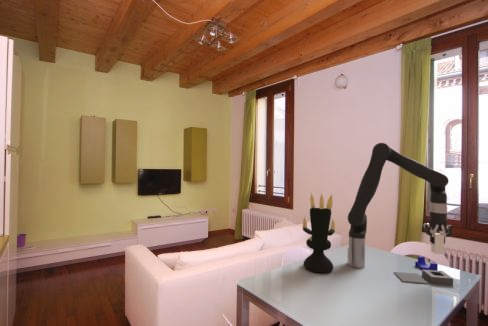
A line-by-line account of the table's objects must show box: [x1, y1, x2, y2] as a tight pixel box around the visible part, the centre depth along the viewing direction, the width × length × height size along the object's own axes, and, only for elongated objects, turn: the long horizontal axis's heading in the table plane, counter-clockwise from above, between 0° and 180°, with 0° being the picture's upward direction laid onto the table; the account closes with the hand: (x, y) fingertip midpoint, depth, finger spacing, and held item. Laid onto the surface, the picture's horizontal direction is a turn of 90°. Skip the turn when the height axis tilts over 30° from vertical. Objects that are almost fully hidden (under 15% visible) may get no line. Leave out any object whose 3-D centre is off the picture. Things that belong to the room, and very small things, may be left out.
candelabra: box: [302, 192, 336, 274], centre depth 154 cm, size 19×22×45 cm
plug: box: [430, 232, 445, 255], centre depth 142 cm, size 4×4×10 cm
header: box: [421, 269, 454, 286], centre depth 142 cm, size 10×10×4 cm
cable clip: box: [414, 255, 439, 271], centre depth 156 cm, size 12×4×6 cm, turn 2°
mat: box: [393, 271, 429, 285], centre depth 144 cm, size 12×12×1 cm
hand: (437, 243), depth 142 cm, fingers closed on plug, 4 cm apart
